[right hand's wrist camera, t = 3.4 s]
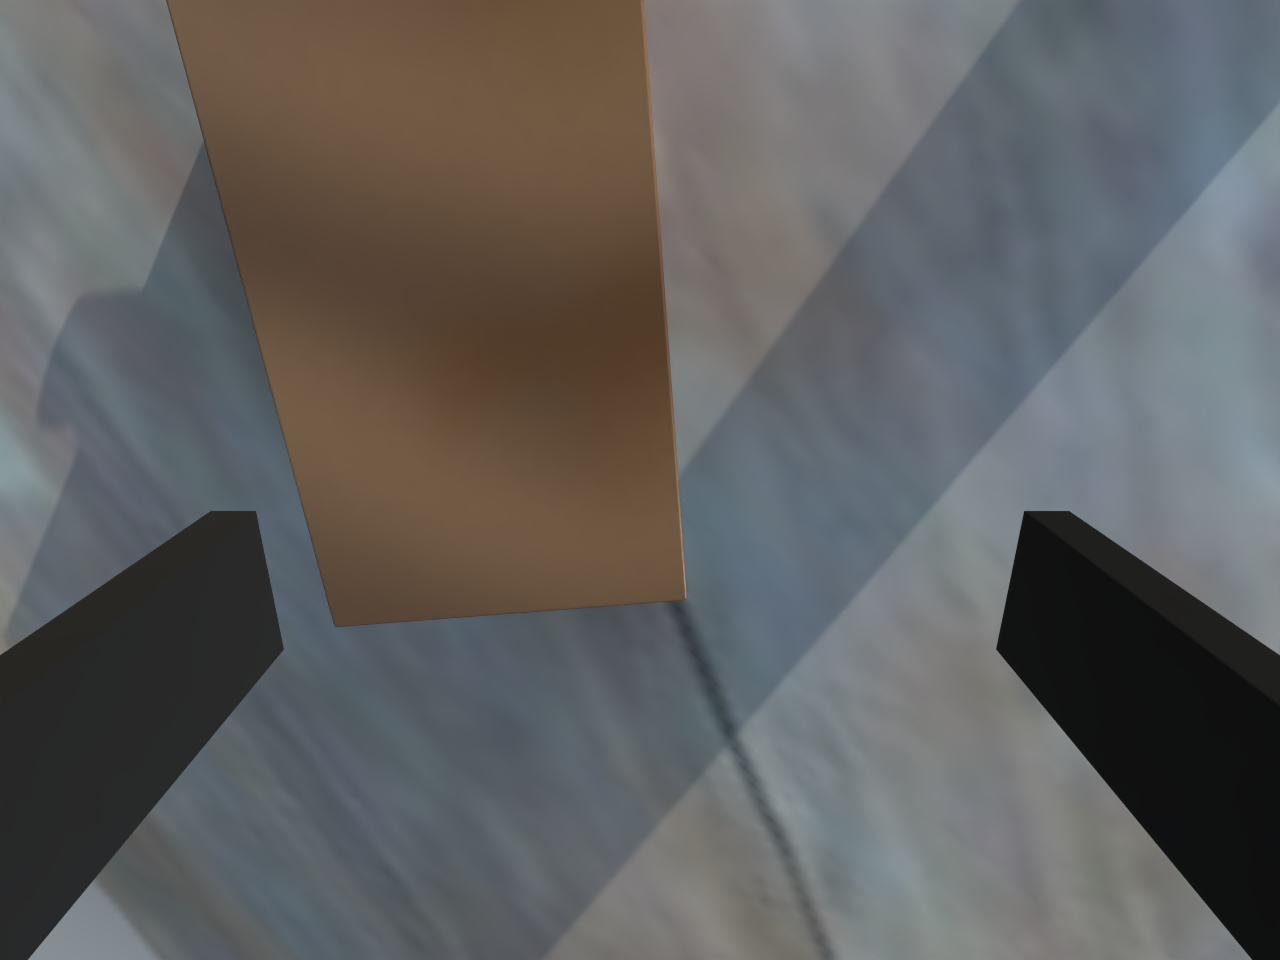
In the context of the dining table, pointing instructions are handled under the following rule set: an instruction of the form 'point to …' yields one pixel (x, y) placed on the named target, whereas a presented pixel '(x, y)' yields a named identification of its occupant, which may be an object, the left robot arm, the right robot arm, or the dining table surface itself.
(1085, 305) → the dining table surface
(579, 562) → the cabinet
